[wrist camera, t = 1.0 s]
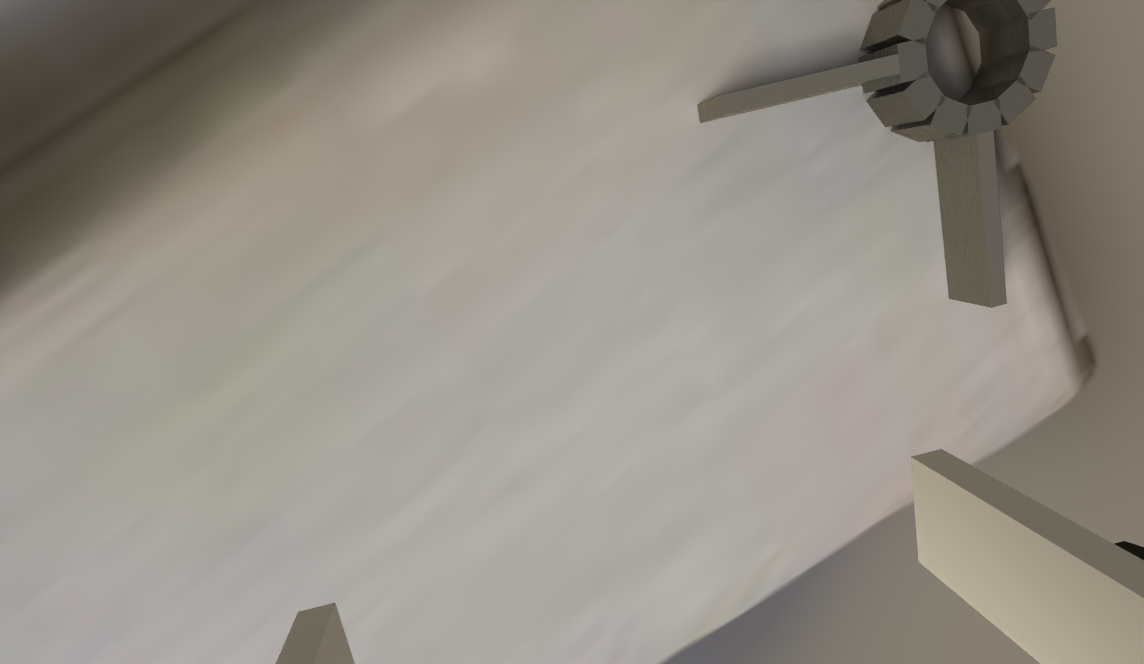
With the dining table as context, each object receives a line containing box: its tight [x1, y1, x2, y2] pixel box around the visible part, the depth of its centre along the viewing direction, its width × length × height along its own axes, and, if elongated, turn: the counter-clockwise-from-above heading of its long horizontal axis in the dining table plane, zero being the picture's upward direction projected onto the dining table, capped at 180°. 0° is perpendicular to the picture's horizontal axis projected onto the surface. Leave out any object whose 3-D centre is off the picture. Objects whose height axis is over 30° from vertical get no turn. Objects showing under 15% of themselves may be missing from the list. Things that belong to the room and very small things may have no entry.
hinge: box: [697, 0, 1057, 308], centre depth 37 cm, size 19×19×4 cm
